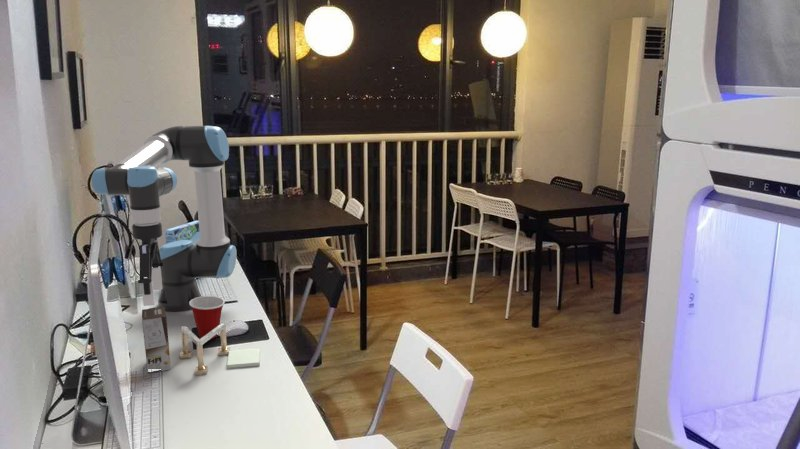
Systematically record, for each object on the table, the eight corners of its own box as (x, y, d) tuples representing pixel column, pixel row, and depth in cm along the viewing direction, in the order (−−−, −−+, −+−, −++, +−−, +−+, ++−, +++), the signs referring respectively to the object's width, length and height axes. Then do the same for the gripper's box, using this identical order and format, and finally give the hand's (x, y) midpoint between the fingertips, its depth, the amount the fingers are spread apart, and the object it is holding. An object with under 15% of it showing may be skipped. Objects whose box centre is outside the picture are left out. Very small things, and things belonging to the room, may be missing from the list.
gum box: (178, 287, 252) (174, 231, 246) (168, 285, 253) (163, 230, 248) (210, 273, 269) (206, 220, 264) (200, 272, 271) (196, 220, 266)
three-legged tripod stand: (181, 354, 190) (178, 325, 188) (230, 350, 193) (228, 321, 191) (174, 376, 176) (171, 345, 174) (227, 372, 179) (225, 341, 177)
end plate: (229, 353, 191) (229, 350, 190) (260, 351, 192) (259, 348, 192) (227, 368, 181) (227, 365, 181) (259, 365, 183) (259, 362, 183)
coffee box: (171, 369, 180) (166, 316, 177) (147, 373, 178) (142, 319, 174) (169, 357, 188) (164, 305, 185) (146, 360, 186) (141, 308, 182)
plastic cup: (217, 344, 197) (214, 307, 195) (185, 341, 199) (182, 305, 197) (232, 331, 208) (230, 296, 205) (202, 328, 210) (199, 294, 207)
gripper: (140, 214, 185) (146, 284, 190) (122, 234, 161) (130, 313, 166) (167, 213, 186) (173, 282, 191) (153, 232, 163) (160, 311, 167)
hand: (153, 297), depth 178 cm, fingers open, 13 cm apart
